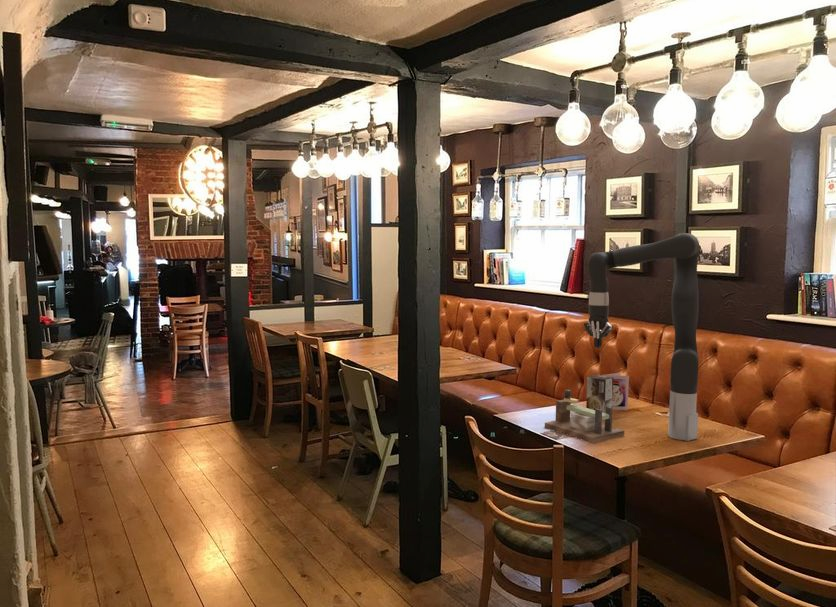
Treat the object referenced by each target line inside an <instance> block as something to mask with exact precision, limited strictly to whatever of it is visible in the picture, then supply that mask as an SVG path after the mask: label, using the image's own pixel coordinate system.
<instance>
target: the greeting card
mask: <svg viewBox="0 0 836 607" xmlns="http://www.w3.org/2000/svg"><path fill="white" fill-rule="evenodd" d="M601 376H607V377H613V406H612V411H628V409H629V408H628V407H629V388H630V387H629V386H630V384H629V383H630V376H629V375H621V372H617V373H616V372H615V373H609V374H608V373H607V374H602V375H601Z"/></svg>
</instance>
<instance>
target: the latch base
mask: <svg viewBox="0 0 836 607" xmlns="http://www.w3.org/2000/svg"><path fill="white" fill-rule="evenodd" d="M568 405H572V403H570V402H566V401H564V398H563V399H560V400H555V420H550V421H547V422H544V429H547V430H551V431H553V430H554V431H553V432H556V431H558V432H557V433H559V432H561V433H560V434H563V433H565V434H564V435H566V434H568V435H567V436H569V435H571V436H570V437H572V436H574V437H573V438H575V437H577V438H576V439H578V438H579V440H581V439H582V440H583V441H585V442H588V443H591V444H598V443H601V442H606V441H610V440H613V439H617V438H621V437H624V436H625V430H624V429H620V428H616V427H613V410H612V407H608V406H607V407H605V413H606V414H609V419H605V420H604V424H603V420H602V410H601V409H595V418H593V417H590V416H587V415H583V414H580V413H577V412H573V413H571V411H570V410H567V406H568Z"/></svg>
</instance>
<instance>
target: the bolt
mask: <svg viewBox="0 0 836 607" xmlns="http://www.w3.org/2000/svg"><path fill="white" fill-rule="evenodd" d="M563 396H564V397H563V399H564V401H566V402H570V403H571V404H574V405H576V404H579V401H580V400H579V399H578V398H577V399H576V398H572V397H571V396H572V390H571V389H564V395H563Z"/></svg>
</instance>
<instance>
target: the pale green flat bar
mask: <svg viewBox="0 0 836 607" xmlns="http://www.w3.org/2000/svg"><path fill="white" fill-rule="evenodd" d="M567 410H570V412H573V413H576V412H577V413H580V414H583V415H587V416H590V417H593V418H595V410H592V409H588V408H586V407H584V406H581V405H577V404H574V403H572V404H571V405H568V406H567ZM605 419H609V414H606V413H602V421H605Z"/></svg>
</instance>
